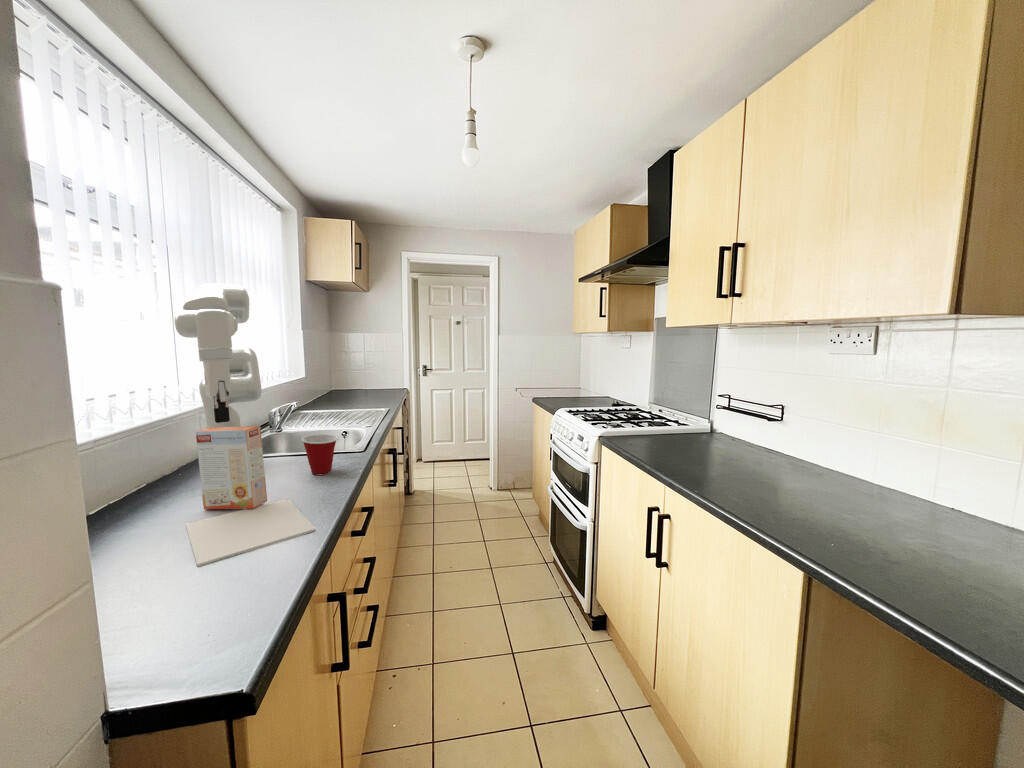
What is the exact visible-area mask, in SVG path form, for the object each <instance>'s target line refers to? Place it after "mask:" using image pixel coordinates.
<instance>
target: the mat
mask: <svg viewBox="0 0 1024 768" xmlns="http://www.w3.org/2000/svg"><path fill="white" fill-rule="evenodd" d="M185 528H186V531H187V535H188V539H189V542H190V546H191V548H192V552H193V555H194V560H195V562H196V563H195V564H196V567H197V566H198V567H201V566H200V565H202V566H205V565H208V564H211V563H215V562H217V560H218V561H220V559H221V560H224V559H227V558H226V557H228V558H230V556H231V557H233V556H232V555H234V556H237V555H236V554H238V555H241V554H243V553H244V554H245V553H247V552H251V551H254V550H256V549H260V548H263V547H267V546H270V545H274V544H277V543H279V542H283V541H287V540H289V538H290V539H293V538H296V537H300V536H303V535H305V534H309V533H313V532H316V527H315V526H314V525H313V524H312V523H311V522H310V521H309V520H308V519H307V518H306V517H305V516H304V514H302V512H300V511H299V510H298V509H297V507H295V505H294V504H293V503H292V502H290V500H289V499H288V498H286V499H281V500H278V501H274V502H269V503H265V504H261V505H259V506H257V507H255V508H253V509H239V510H237V511H233V512H229V513H226V514H221V515H220V514H219V515H217V516H212V517H209V518H204V519H200V520H197V521H192V522H188V523H186V524H185ZM286 539H287V540H286ZM273 543H274V544H273ZM240 553H241V554H240ZM214 561H215V562H214ZM204 564H205V565H204Z"/></svg>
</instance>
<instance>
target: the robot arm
mask: <svg viewBox="0 0 1024 768" xmlns="http://www.w3.org/2000/svg"><path fill="white" fill-rule="evenodd" d="M249 317H250V297H249V294H248V291H247V290H246V288H244V286H242V285H240V284H230V283H229V284H227V283H226V284H225V283H204V284H202V285H200V286H199V287H198V288H197V289H196V291H195V298H192V299H189V300H185V301H183V302H181V303H179V304H178V306H177V307H176V310H175V316H174V327H175V329H176V332H177V334H178V335H180V337H184V338H192V339H193V338H194V339H195V338H197V348H198V358H199V362H202V365H203V366H202V367H203V369H204V379H202V380H201V381H200V383H199V386H198V387H199V395H200V398H201V400H202V401H201V402H202V406H203V409H204V416H205V425H206V426H205V427H206V429H207V428H213V427H242V426H241V418H240V413H238V411H237V410H236V409H235V408H233V407H232V406H230V404H237V403H248V402H255V401H259V400H260V399H261V397H262V393H263V392H262V382H261V374H260V368H259V361H258V357H257V354H256V352H255V351H254V349H252V348H249V347H233V344H232V341H233V340H232V337H233V336H234V335H236V332H237V331H238V329H239V326H238V325H239V324H243V323H246V322H247V321H248V320H249Z"/></svg>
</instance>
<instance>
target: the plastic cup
mask: <svg viewBox="0 0 1024 768" xmlns="http://www.w3.org/2000/svg"><path fill="white" fill-rule="evenodd" d="M338 437H339V436H337V435H334V434H329V433H323V434H322V433H319V434H318V433H317V434H310V435H309V434H308V435H306V436H303V437H301V441H302V443H303V446H304V449H305V452H306V458H307V461H308V464H309V467H310V472H311V474H312V475H313V474H324V475H326V474H325V473H328V472H330V471H332V468H333V462H334V455H335V454H334V453H335V447H336V443H337V441H338V439H339V438H338ZM330 473H331V472H330ZM328 474H329V473H328Z"/></svg>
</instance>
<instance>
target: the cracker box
mask: <svg viewBox="0 0 1024 768" xmlns="http://www.w3.org/2000/svg"><path fill="white" fill-rule="evenodd" d="M195 439H196V445H197V446H196V447H197V448H196V449H197V456H198V457H197V458H198V465H199V467H198V468H199V475H200V476H199V477H200V484H201V486H200V487H201V495H202V496H201V497H202V505H203V510H244V509H253V508H255V507H257V506H261V505H264V503H265V504H266V502H268V495H267V485H266V474H265V462H264V452H263V441H262V430H261V426H260V425H256V426H255V425H254V426H252V425H251V426H241V427H213V428H207V427H206V428H204V429H201V430H196V431H195Z"/></svg>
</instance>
